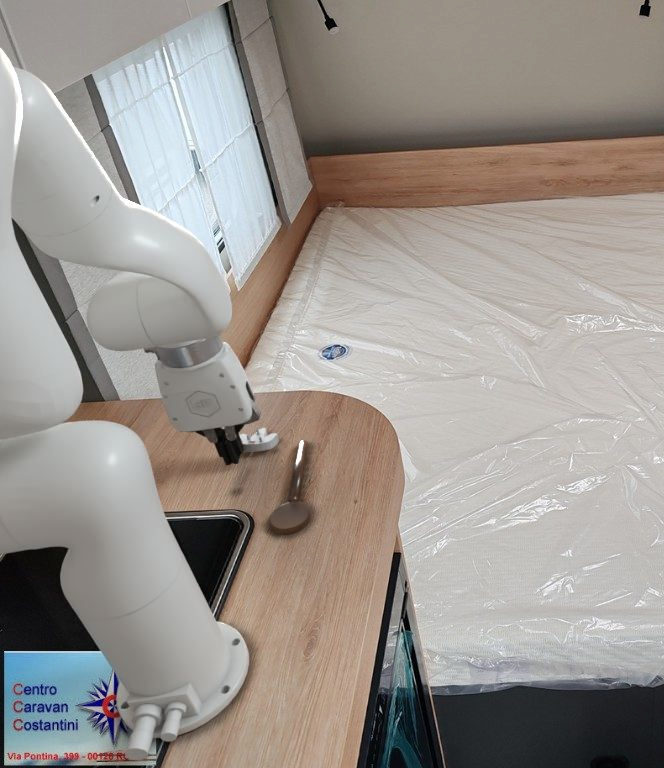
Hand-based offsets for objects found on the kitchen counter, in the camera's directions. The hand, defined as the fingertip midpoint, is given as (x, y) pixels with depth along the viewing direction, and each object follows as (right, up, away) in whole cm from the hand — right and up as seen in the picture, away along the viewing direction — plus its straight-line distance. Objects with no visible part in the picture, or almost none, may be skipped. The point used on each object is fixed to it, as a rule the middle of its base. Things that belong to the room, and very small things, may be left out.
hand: (234, 458), depth 103 cm
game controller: (+2, -1, +1) cm, 2 cm away
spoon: (+10, -3, -5) cm, 12 cm away
